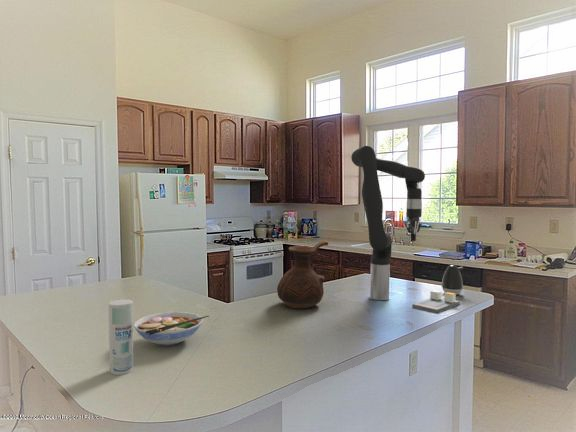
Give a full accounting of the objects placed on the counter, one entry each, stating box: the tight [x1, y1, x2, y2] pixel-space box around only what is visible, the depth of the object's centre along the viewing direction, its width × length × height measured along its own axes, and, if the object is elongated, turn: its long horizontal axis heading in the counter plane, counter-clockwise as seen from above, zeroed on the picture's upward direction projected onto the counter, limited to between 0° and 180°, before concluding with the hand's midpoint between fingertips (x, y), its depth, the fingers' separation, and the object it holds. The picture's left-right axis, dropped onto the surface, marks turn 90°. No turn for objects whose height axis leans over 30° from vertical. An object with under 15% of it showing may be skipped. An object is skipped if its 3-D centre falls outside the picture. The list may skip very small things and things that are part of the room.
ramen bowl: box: [133, 311, 210, 347], centre depth 146 cm, size 25×23×8 cm
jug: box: [276, 239, 329, 310], centre depth 194 cm, size 22×22×30 cm
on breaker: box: [429, 289, 442, 300], centre depth 202 cm, size 3×4×4 cm
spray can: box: [107, 299, 134, 376], centre depth 122 cm, size 6×6×20 cm
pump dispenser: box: [441, 264, 464, 296], centre depth 218 cm, size 10×10×15 cm
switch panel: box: [411, 296, 461, 314], centre depth 196 cm, size 22×12×2 cm, turn 133°
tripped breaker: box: [443, 292, 457, 303], centre depth 197 cm, size 3×4×4 cm
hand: (413, 241), depth 221 cm, fingers closed
